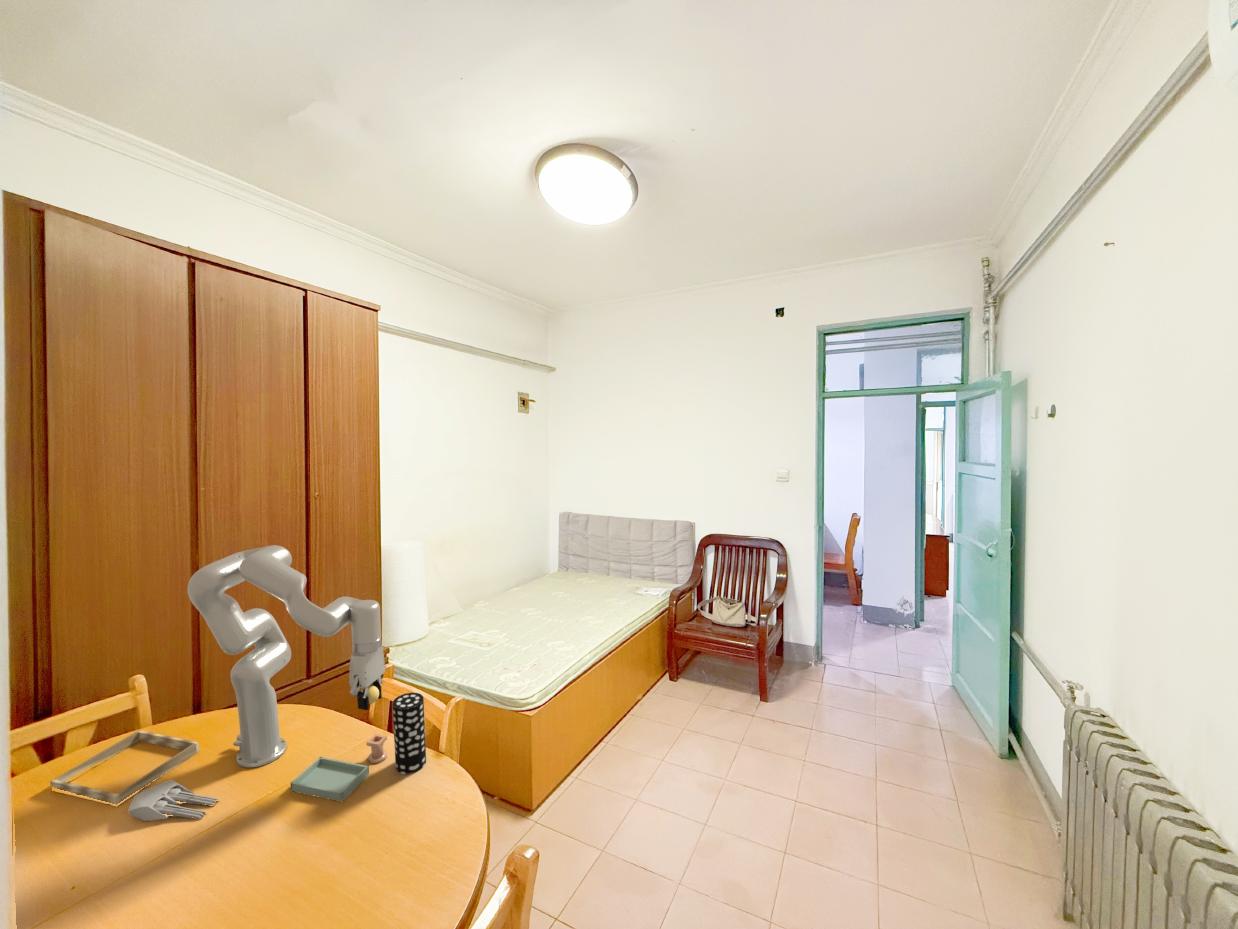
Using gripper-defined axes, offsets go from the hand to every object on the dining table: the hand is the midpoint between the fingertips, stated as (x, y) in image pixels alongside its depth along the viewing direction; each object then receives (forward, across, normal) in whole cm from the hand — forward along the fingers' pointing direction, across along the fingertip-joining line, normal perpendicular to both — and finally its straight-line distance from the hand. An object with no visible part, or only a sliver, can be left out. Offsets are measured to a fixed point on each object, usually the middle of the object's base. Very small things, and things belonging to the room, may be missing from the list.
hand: (369, 702), depth 162 cm
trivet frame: (+19, +20, -63) cm, 69 cm away
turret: (+19, +28, -38) cm, 51 cm away
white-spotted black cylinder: (+18, -1, +12) cm, 22 cm away
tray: (+18, +11, -5) cm, 22 cm away
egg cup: (+18, -1, +1) cm, 18 cm away
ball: (0, 0, 0) cm, 0 cm away
